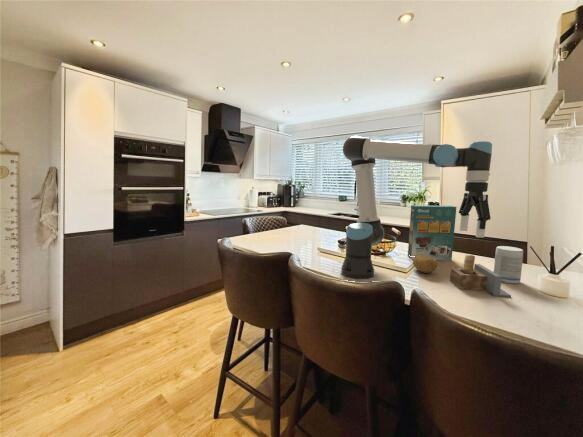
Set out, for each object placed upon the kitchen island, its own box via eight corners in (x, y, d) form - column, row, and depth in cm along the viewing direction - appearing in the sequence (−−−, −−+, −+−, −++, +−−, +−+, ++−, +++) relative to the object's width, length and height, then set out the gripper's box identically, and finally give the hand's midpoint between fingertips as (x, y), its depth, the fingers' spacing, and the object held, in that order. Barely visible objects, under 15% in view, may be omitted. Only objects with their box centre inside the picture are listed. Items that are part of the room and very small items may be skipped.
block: (459, 289, 112) (460, 274, 111) (449, 281, 120) (451, 268, 120) (485, 290, 110) (487, 276, 109) (474, 282, 119) (475, 269, 118)
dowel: (463, 284, 114) (467, 256, 112) (459, 281, 117) (463, 254, 116) (472, 285, 113) (476, 257, 112) (468, 282, 117) (472, 254, 115)
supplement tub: (525, 283, 119) (530, 250, 116) (508, 285, 116) (512, 251, 114) (503, 275, 128) (507, 245, 126) (487, 277, 126) (490, 246, 124)
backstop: (493, 296, 105) (495, 276, 104) (472, 281, 120) (474, 263, 119) (510, 297, 104) (513, 277, 103) (487, 282, 120) (489, 264, 118)
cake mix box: (446, 257, 159) (451, 205, 155) (451, 260, 153) (456, 206, 149) (407, 256, 161) (411, 205, 157) (411, 258, 155) (414, 206, 151)
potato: (425, 267, 140) (426, 252, 139) (441, 276, 126) (443, 259, 125) (406, 267, 140) (408, 252, 138) (421, 276, 126) (422, 260, 125)
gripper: (506, 182, 97) (499, 240, 100) (471, 181, 121) (466, 228, 124) (483, 181, 98) (476, 239, 101) (453, 181, 122) (448, 228, 125)
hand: (471, 233), depth 112 cm, fingers open, 13 cm apart
